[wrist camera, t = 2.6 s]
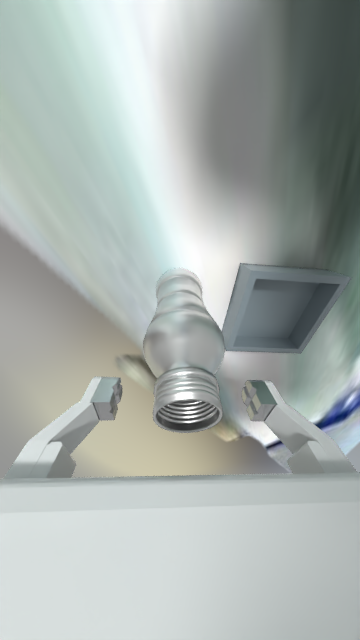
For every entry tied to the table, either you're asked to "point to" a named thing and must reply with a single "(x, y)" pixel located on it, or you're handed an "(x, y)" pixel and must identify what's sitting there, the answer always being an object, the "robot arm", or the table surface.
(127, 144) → the table surface
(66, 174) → the table surface
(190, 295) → the plastic bottle
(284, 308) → the box
